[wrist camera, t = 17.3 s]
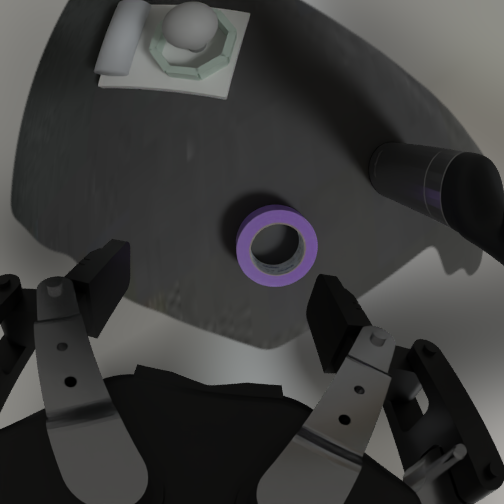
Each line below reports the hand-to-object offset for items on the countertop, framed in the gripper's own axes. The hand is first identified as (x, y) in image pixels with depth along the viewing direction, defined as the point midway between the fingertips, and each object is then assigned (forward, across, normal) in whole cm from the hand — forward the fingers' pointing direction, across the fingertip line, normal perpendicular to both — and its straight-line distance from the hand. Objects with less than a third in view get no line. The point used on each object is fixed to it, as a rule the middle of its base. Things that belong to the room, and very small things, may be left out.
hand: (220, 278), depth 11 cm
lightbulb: (+28, +9, -18) cm, 34 cm away
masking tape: (+30, -8, +9) cm, 32 cm away
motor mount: (+29, +13, -18) cm, 37 cm away
